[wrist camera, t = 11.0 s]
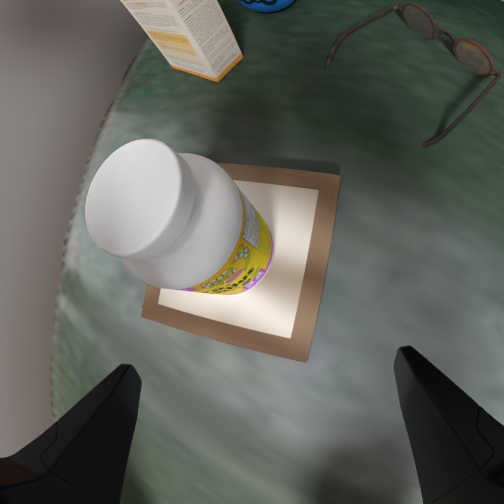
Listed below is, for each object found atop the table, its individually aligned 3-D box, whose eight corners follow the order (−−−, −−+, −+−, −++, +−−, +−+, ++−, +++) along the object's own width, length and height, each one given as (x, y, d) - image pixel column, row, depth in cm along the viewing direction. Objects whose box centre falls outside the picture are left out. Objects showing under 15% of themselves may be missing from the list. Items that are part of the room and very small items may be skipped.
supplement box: (245, 56, 27) (204, -35, 15) (218, 84, 27) (162, -7, 15) (196, 43, 30) (150, -30, 17) (171, 68, 30) (115, -4, 17)
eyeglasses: (493, 90, 20) (508, 63, 15) (431, 158, 21) (448, 128, 16) (395, 19, 24) (398, -10, 19) (316, 67, 25) (311, 32, 21)
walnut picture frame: (307, 359, 21) (306, 362, 20) (148, 316, 25) (140, 316, 24) (340, 181, 22) (340, 174, 21) (184, 166, 26) (178, 160, 25)
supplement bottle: (197, 300, 22) (66, 292, 10) (189, 219, 24) (75, 150, 12) (283, 288, 21) (215, 267, 9) (269, 201, 22) (201, 95, 10)
